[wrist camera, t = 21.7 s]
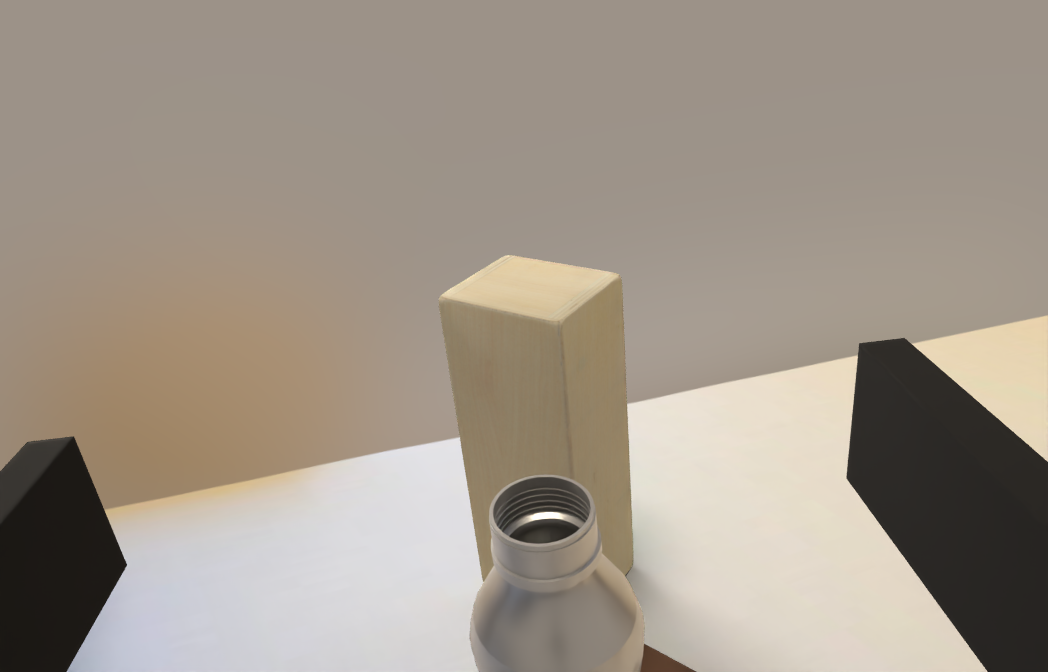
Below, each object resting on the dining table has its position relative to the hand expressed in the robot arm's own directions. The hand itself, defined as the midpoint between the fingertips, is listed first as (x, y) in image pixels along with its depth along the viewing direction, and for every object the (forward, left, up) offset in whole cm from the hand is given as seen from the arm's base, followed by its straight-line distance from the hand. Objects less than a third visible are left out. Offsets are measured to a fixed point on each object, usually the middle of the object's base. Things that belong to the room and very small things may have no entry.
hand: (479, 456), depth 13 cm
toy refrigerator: (-18, +22, -30) cm, 41 cm away
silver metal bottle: (-6, +8, -29) cm, 31 cm away
